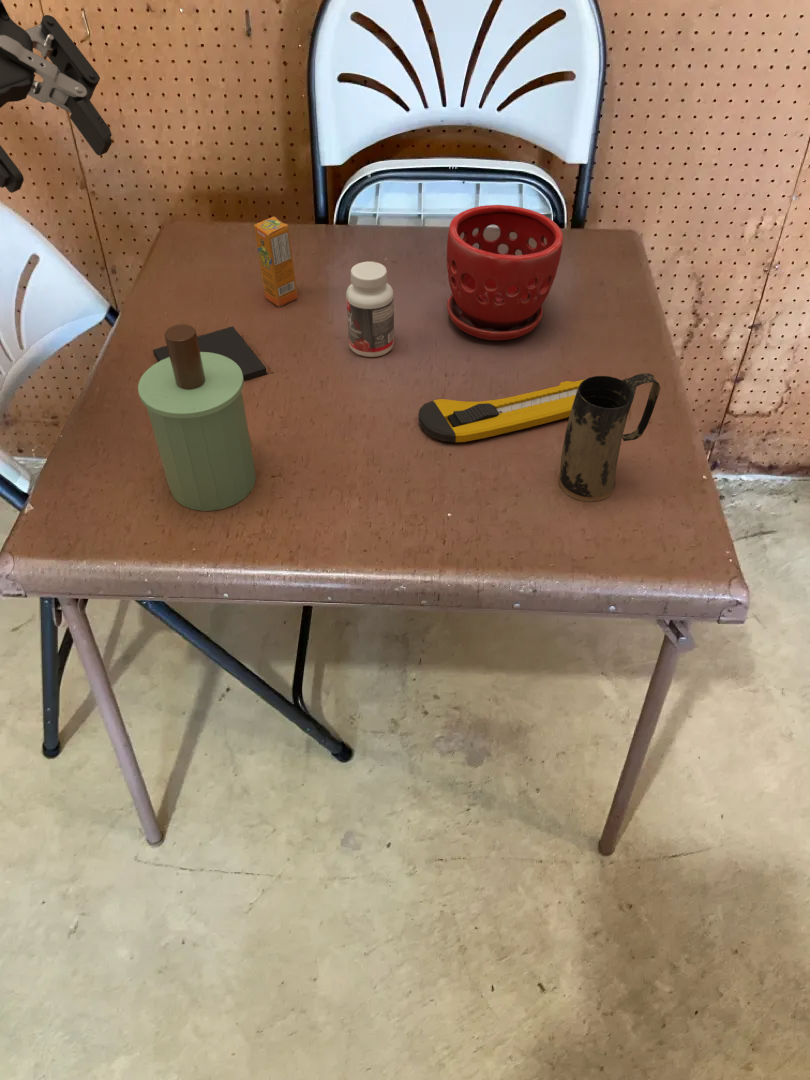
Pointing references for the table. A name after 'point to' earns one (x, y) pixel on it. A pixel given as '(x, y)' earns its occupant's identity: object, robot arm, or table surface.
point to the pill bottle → (370, 310)
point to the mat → (226, 351)
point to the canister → (206, 457)
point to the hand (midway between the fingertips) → (63, 167)
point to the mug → (600, 434)
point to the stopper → (189, 379)
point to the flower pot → (500, 271)
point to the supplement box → (276, 261)
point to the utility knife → (496, 413)
